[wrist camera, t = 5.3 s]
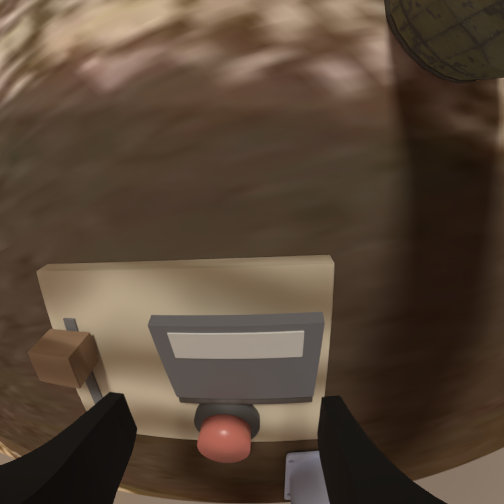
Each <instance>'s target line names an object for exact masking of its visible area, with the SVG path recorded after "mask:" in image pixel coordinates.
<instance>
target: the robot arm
mask: <svg viewBox="0 0 504 504" xmlns="http://www.w3.org/2000/svg"><path fill="white" fill-rule="evenodd" d="M136 434H137V426H136V424H135V421H134V419H133V417H132V414H131V412H130V409H129V406H128V404H127V401H126V399H125V396H124V394H123V393H115V392H109V393H108V394H106V395H105V396H104V397H103V398H102V399H101V400H99V401H98V402H97V403H96V404H95V405H94V406H93V407H91V408H90V409H89V410H88V411H87V412H86V413H84V414H83V415H82V416H81V417H80V418H79V419H77V420H76V421H75V422H74V423H73V424H71V425H70V426H69V427H67V428H66V429H65V430H64V431H62V432H61V433H60V434H58V435H57V436H56V437H54V438H53V439H51V440H50V441H48V442H47V443H45V444H44V445H42V446H40V447H39V448H37V449H35V450H34V451H32V452H30V453H28V454H26V455H24V456H22V457H20V458H17V459H15V460H13V461H11V462H8V463H5V464H3V465H0V504H113V501H114V498H115V495H116V492H117V490H118V487H119V484H120V482H121V479H122V477H123V474H124V472H125V469H126V466H127V464H128V461H129V459H130V456H131V453H132V451H133V447H134V443H135V438H136ZM317 436H318V447H319V451H309V452H294V453H288V454H287V455H286V470H285V490H284V499H286V500H291V504H447V503H445V502H443V501H442V500H440V499H438V498H436V497H435V496H433V495H432V494H430V493H429V492H427V491H425V489H423V488H421V487H420V486H419V485H417V484H416V483H415V482H413V481H412V480H411V479H410V478H408V477H407V476H406V475H405V474H404V473H402V472H401V471H400V470H399V469H398V468H397V467H396V466H395V465H394V464H393V463H392V462H390V461H389V460H388V458H387V457H386V456H385V455H384V454H383V453H382V452H381V451H380V450H379V449H378V448H377V447H376V445H375V444H374V443H373V442H372V441H371V439H370V438H369V437H368V436H367V434H366V433H365V432H364V431H363V429H362V428H361V427H360V425H359V424H358V423H357V421H356V420H355V418H354V417H353V415H352V414H351V412H350V411H349V409H348V408H347V406H346V405H345V403H344V401H343V400H342V398H341V397H340V396H328V397H322V398H321V407H320V416H319V424H318V431H317Z"/></svg>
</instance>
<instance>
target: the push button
mask: <svg viewBox="0 0 504 504" xmlns="http://www.w3.org/2000/svg"><path fill="white" fill-rule="evenodd" d="M250 445H251V428H250V426H249V424H248V423H247V422H246V421H244V420H243V419H241V418H239V417H236V416H233V415H228V414H217V415H212V416H210V417H208V418H206V419H205V420H204V421H203V422H202V424H201V428H200V433H199V438H198V443H197V448H198V450H199V451H200V453H201V454H202V455H204V456H205V457H207V458H209V459H211V460H214V461H217V462H223V463H233V462H238V461H241V460H243V459H245V458H246V457H247V456H248V455H249V453H250Z"/></svg>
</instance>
